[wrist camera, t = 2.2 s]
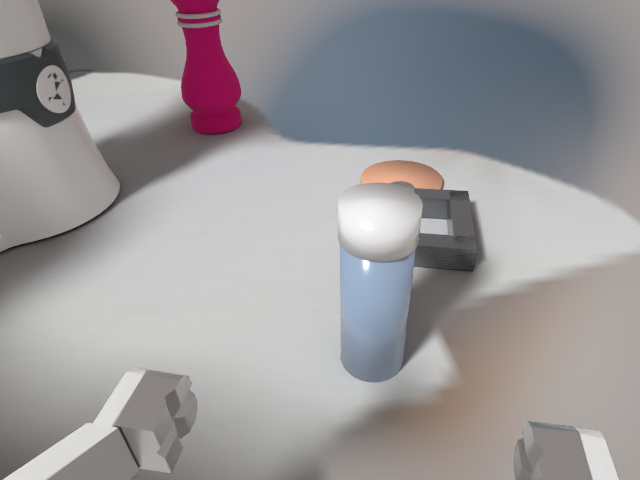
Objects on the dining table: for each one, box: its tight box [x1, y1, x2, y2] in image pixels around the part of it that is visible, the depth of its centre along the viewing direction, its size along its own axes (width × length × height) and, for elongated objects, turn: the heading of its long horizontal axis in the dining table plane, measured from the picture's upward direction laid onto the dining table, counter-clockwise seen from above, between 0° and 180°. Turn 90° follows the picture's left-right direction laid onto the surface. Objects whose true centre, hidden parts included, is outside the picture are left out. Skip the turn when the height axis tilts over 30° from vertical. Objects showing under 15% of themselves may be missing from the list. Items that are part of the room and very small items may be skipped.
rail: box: [391, 181, 478, 271], centre depth 36 cm, size 8×15×2 cm, turn 170°
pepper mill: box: [171, 0, 241, 134], centre depth 54 cm, size 7×7×20 cm
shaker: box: [338, 182, 423, 382], centre depth 25 cm, size 4×4×11 cm
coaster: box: [361, 160, 443, 190], centre depth 46 cm, size 8×8×1 cm
